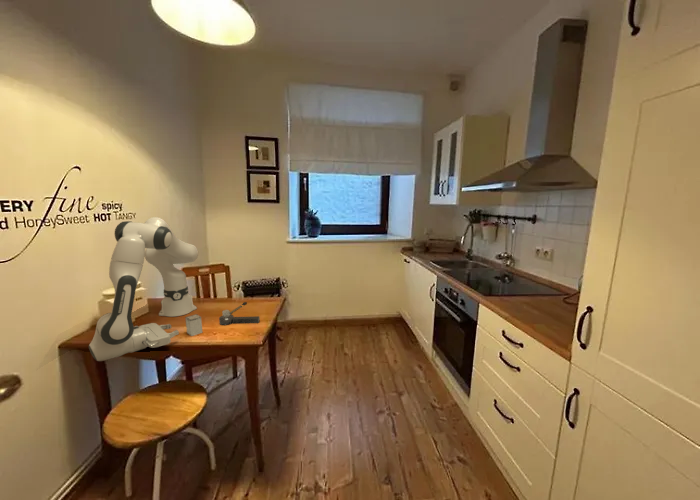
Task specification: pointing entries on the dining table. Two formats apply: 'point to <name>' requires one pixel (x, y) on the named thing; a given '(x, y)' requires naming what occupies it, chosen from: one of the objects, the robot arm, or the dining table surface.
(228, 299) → the dining table surface
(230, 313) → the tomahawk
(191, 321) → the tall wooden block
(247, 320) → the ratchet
